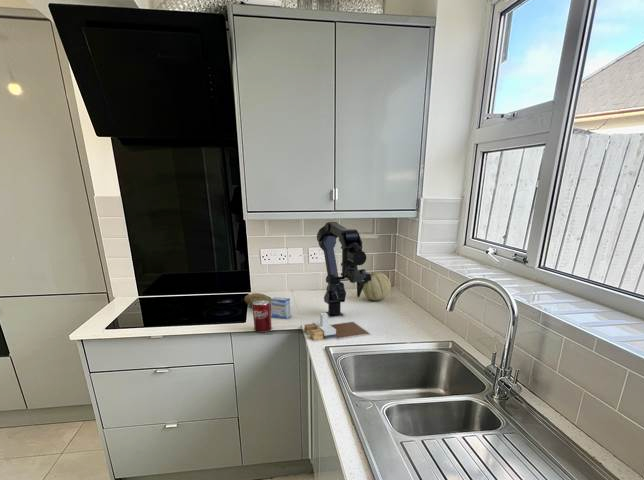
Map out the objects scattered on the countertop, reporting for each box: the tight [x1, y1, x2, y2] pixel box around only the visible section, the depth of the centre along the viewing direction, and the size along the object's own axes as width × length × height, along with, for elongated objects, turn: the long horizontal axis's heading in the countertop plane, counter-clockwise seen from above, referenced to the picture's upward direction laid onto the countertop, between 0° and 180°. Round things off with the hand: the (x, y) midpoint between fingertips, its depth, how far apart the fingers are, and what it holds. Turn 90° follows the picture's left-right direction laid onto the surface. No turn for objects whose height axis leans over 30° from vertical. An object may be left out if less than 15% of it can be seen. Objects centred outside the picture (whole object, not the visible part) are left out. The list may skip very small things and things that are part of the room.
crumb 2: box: [310, 329, 325, 341], centre depth 162 cm, size 4×4×3 cm
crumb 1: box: [304, 322, 317, 334], centre depth 168 cm, size 4×4×3 cm
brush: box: [312, 312, 337, 340], centre depth 166 cm, size 13×5×8 cm, turn 24°
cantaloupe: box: [362, 271, 392, 302], centre depth 211 cm, size 15×15×15 cm
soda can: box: [251, 301, 273, 333], centre depth 169 cm, size 7×7×12 cm
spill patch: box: [330, 321, 370, 339], centre depth 171 cm, size 16×14×1 cm
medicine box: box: [271, 296, 291, 319], centre depth 187 cm, size 8×4×9 cm, turn 71°
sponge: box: [244, 292, 273, 309], centre depth 200 cm, size 13×8×20 cm
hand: (348, 298), depth 173 cm, fingers open, 9 cm apart
